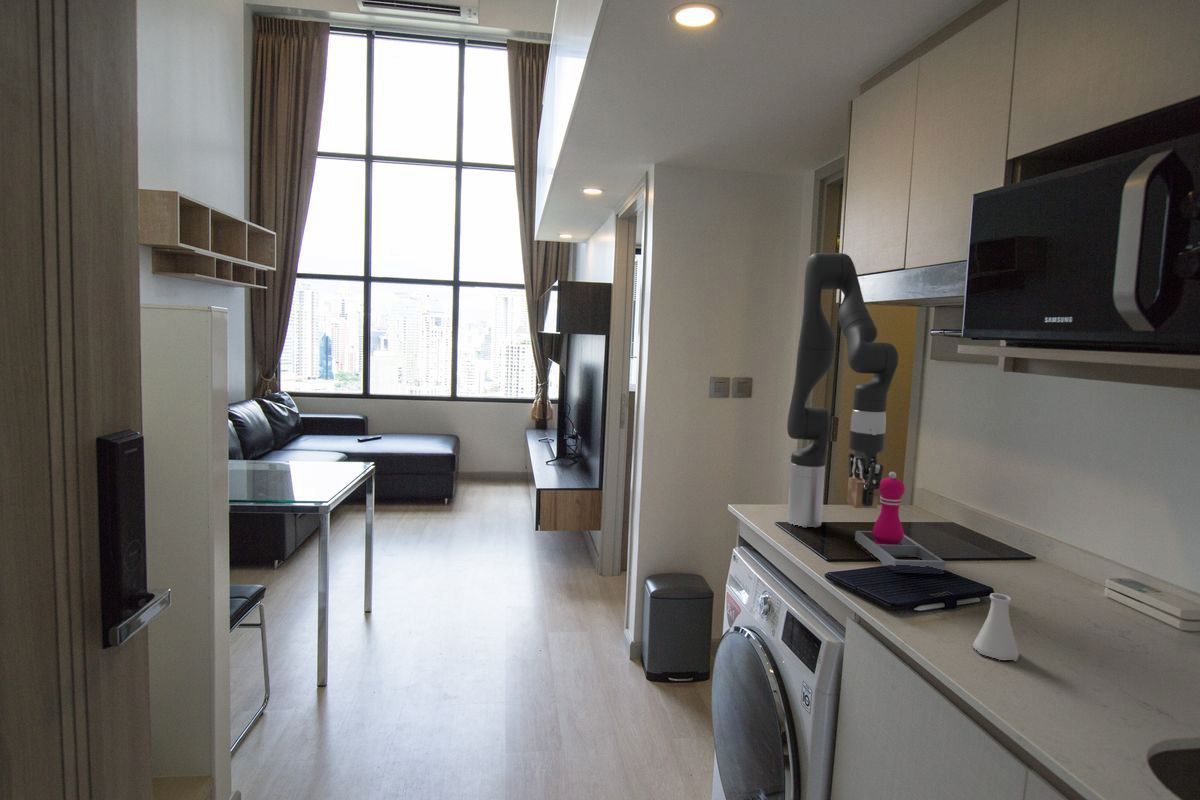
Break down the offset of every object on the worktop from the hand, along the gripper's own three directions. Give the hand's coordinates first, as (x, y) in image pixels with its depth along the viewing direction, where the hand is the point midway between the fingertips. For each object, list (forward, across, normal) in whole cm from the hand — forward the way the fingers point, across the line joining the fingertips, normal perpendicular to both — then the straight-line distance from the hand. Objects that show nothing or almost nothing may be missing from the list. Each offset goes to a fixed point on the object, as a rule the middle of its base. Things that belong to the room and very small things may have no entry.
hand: (862, 501), depth 155 cm
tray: (+15, -6, +12) cm, 20 cm away
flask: (+15, +42, +7) cm, 45 cm away
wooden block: (+1, 0, 0) cm, 1 cm away
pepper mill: (+15, -11, +12) cm, 22 cm away
